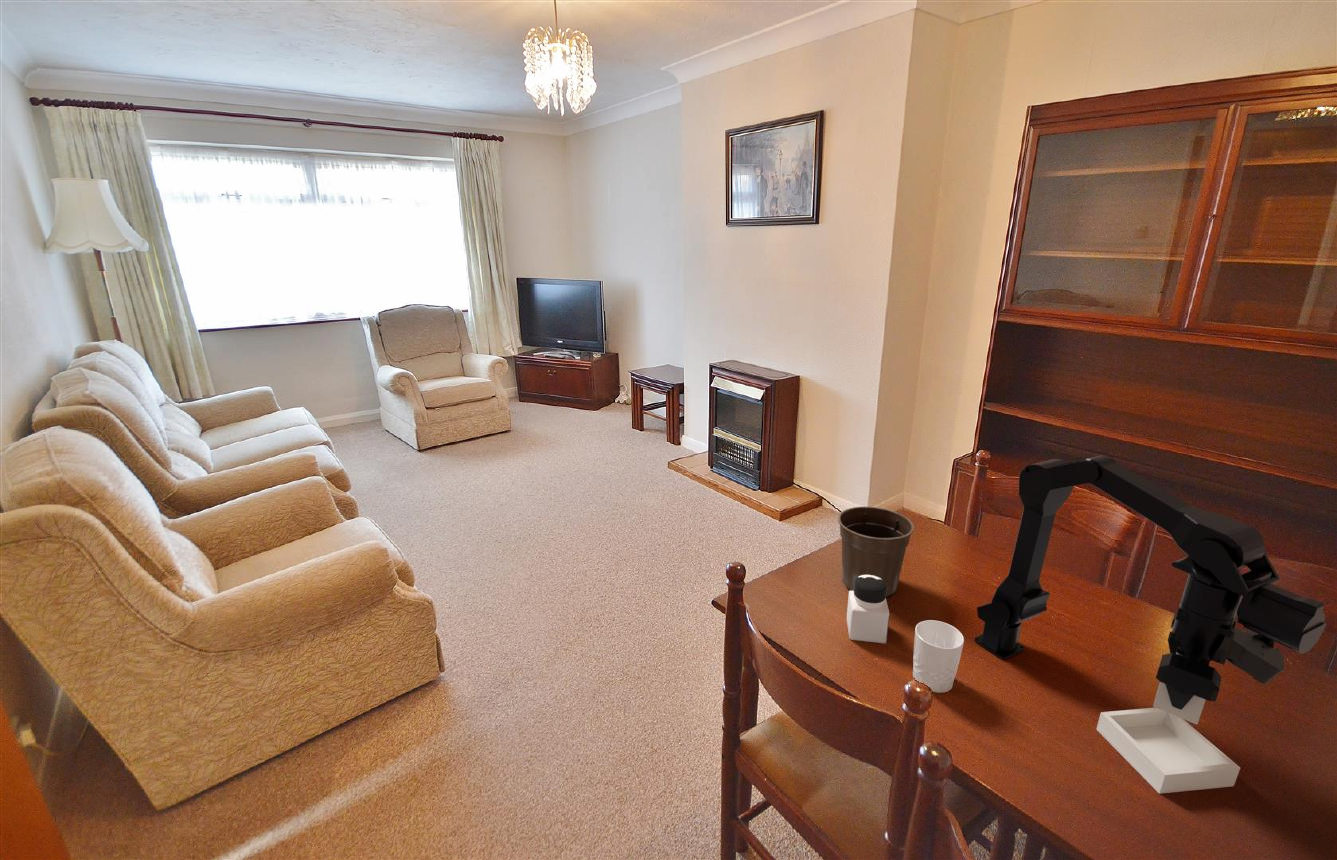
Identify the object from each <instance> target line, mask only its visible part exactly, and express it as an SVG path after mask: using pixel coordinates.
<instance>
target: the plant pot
mask: <svg viewBox="0 0 1337 860" xmlns="http://www.w3.org/2000/svg"><path fill="white" fill-rule="evenodd" d="M837 521H838V524H839V528H840V529H839V532H840V533H839V534H840V538H841V579H842V581H843V583H844V587H846V588H847V589H848V590H849V591H854V585H855V579H856V578H857V577H859V576H861V575H873V576H877V577H879V578H881V579H882V580H883V581H884V582H885V583H886V585H887V588H886V597H889V596H891V595H893V594H895V592H896V591H897V589H898V584H899V580H900V575H901V571H902V567H903V563H904V558H905V555H906V550H907V547H908V546H909V543H910V539H911V535H912V534H913V533H914V531H915V525H914V523H913V522H912V520H911V519H909V518H908V517H907V516H905V515H903V514H901V513H900V512H897V511H895V510H892V509H888V508H882V507H877V506H876V507H875V506H855V507H850V508H846V509H845V510H843V511H841V512H840V513H839V514H838V517H837Z"/></svg>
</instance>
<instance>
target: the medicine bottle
mask: <svg viewBox="0 0 1337 860" xmlns="http://www.w3.org/2000/svg"><path fill="white" fill-rule="evenodd" d="M886 588H887V585H886V583H885V582H884V581H883V580H882V579H881V578H879V577H877V576H873V575H861V576H859V577H857V578H856V579H855V585H854V591H851V590H849V591H848V596H847V597H848V598H847V599H848V600H847V609H846V624H847V630H848V638H849V640H851V641H858V642H859V641H861V642H869V643H870V642H871V643H877V644H887V641H888V634H889V624H890V615H891V614H890V611H889V606H888V602H887V596H886Z"/></svg>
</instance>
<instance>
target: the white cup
mask: <svg viewBox="0 0 1337 860" xmlns="http://www.w3.org/2000/svg"><path fill="white" fill-rule="evenodd" d="M964 643H965V637H964V636H963V634H962V632H961V631H960V630H959V629H957V628H956V627H955V626H953V625H951V624H949V623H947V622H944V621H940V620H933V619H932V620H931V619H927V620H924V621H923V620H922V621H919V622H918V623H917V624H916V625H915V630H914V642H913V657H912V658H913V662H912V663H913V665H912V666H913V669H912V677H913V679H914V678H915V679H914V681H915V680H917V681H919V682H921V683H924V684H925V685H927V686H928V687H930V688H931V689H932V691H933V692H932V691H931V692H932V693H938V694H941V693H947V692H949V691H950V690H951V689H953V685H954V680H955V678H956V676H957V672H958V668H959V663H960V661H961V656H962V653H963V652H962V651H963V648H964Z"/></svg>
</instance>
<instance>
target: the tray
mask: <svg viewBox="0 0 1337 860" xmlns="http://www.w3.org/2000/svg"><path fill="white" fill-rule="evenodd" d="M1099 714H1100V715H1099V718H1098V721H1097V726H1096V731H1097V732H1098V733H1099V734H1100V735H1101V736H1102V737H1103V738H1104V739H1105V740H1106V741H1107V742H1108V743H1109V744H1110V745H1111V746H1112V747H1113V749H1115V750H1116V751H1117V752H1118V753H1119V754H1120V755H1121V756H1122V757H1123V758H1124V759H1125V761H1127V762H1128V764H1130V766H1132V768H1133V769H1135V771H1136V772H1137V773H1138V774H1140V776H1141V777H1142V778H1143V779H1144V780H1146V782H1147V783H1148V784H1149V785H1150V786H1151V787H1152V788H1153V789H1154V790H1155V791H1156V792H1157V793H1158V794H1170V793H1180V792H1188V791H1199V790H1209V789H1220V788H1229V787H1230V788H1231V787H1234V786H1235V784H1236V781H1237V779H1238V776H1239V774H1240V773H1239V772H1240V770H1241V767H1240V766H1239V765H1238V764H1237V763H1235V761H1234V760H1232V759H1231V758H1230V757H1228V756H1227V755H1226V754H1225V753H1224V752H1223V751H1221V750H1220V749H1219V748H1218V747H1216V745H1214V744H1213V743H1212V742H1211V741H1210V740H1208V738H1206V737H1204V736H1203V735H1202V734H1201V733H1200V732H1199V731H1198V730H1197V729H1195V728H1194V727H1193V726H1192V725H1191V724H1189V722H1188V721H1187V720H1184V719H1182V718H1180V717H1177V716H1175V715H1173V714H1170V713H1168V712H1165V711H1163V710H1161V709H1158V708H1156V707H1146V708H1135V709H1134V708H1133V709H1125V710H1114V711H1113V710H1112V711H1103V712H1102V711H1101V712H1100V713H1099Z"/></svg>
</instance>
